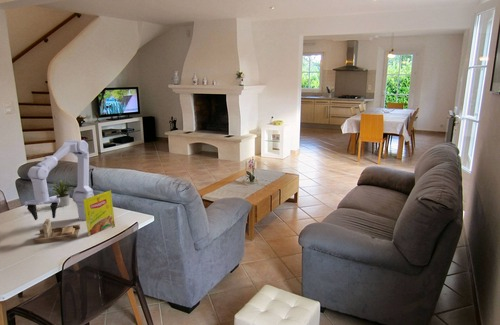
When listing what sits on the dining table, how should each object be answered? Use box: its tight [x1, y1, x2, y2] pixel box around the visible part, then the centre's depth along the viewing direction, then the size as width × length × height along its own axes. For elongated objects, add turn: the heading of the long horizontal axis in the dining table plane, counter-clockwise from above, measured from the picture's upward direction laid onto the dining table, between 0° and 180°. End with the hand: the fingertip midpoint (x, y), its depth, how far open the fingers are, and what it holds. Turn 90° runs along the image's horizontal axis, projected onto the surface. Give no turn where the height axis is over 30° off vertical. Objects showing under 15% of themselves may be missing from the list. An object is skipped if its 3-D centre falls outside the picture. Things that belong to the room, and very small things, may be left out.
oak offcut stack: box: [61, 225, 75, 236], centre depth 173 cm, size 5×8×2 cm, turn 16°
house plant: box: [49, 179, 75, 208], centre depth 210 cm, size 14×14×16 cm
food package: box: [83, 189, 116, 237], centre depth 175 cm, size 15×1×20 cm, turn 149°
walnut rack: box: [32, 224, 81, 245], centre depth 172 cm, size 18×12×3 cm, turn 106°
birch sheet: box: [42, 218, 52, 238], centre depth 170 cm, size 2×7×8 cm, turn 16°
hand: (45, 218), depth 168 cm, fingers open, 7 cm apart
